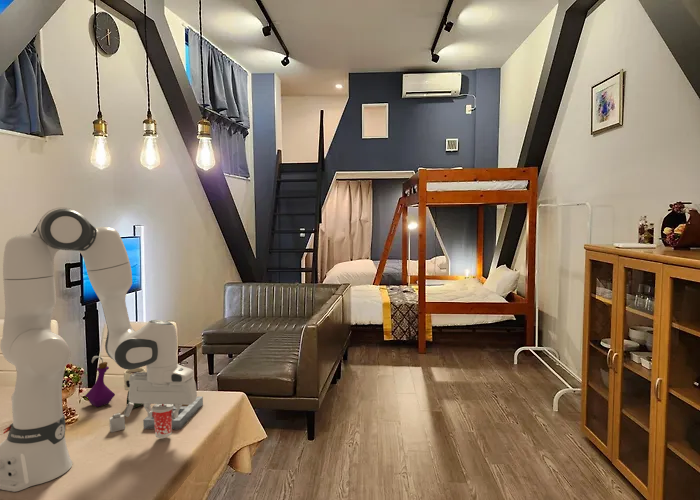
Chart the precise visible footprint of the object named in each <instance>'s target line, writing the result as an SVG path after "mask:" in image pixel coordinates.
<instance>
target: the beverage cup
mask: <svg viewBox="0 0 700 500" xmlns="http://www.w3.org/2000/svg"><path fill="white" fill-rule="evenodd" d="M173 406H174V404H154V405H153V406H151V408H152V411H153V414H154V425H155V429H154V433H155V434H154V435H155V438H157V439H164V438H168V437H170V436H171V435H172V430H173V429H172V419H173V418H171V416H172V415H171V413H172V410H173Z"/></svg>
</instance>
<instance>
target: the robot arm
mask: <svg viewBox="0 0 700 500" xmlns="http://www.w3.org/2000/svg"><path fill="white" fill-rule="evenodd" d="M60 250H62V251H76V252H77V251H78V252H79V253H80V254H81V256H82V258H83V261H84V265H85V269H86V272H87V276H88V280H89V282H90V284H91V286H92V289H93V291H94V292H95V294H96V296H97V298H98V299H99V302H100V304H101V307H102V310H103V315H104V319H105V324H106V328H107V332H106V333H107V334H106V339H105V345H104V349H105V352H106V354H107V356H108V357H109V358H110V359H112V360H113V362H115V363H116V364H117V366H118V367H120V368H122V369H124V370H132V369H136V368H144V367H145V366H146V371H145V372H134V373H133V374H131V375H130V377H129V384H130V387H129V397H128V399H129V401H130V402H131V403H144V404H143V408H144V410H145V411H146V412H147V416H148V417H154V414H153V411H152V406H151V405H152V404H154V405H156V404H175V408H176V407H177V408H176V410H175V411H173V412H172V413H171V415H172V416H171V418H172V419H175V418H177V417H178V411H179V409H180V408H181V406H188V405H191V404H192V403H193V402H194V401H195V400H196V398H197V396H198V392H197V383H196V381H195V378H194V377H193V375H194V372H195V371H194V369H192V368H190V367H186V366H184V365H181V364H179V363H178V357H177V351H178V336H177V329H176V327H175V325H174V324H173V322H171V321H168V320H163V319H153V320H149V321H148V322H147V323H146V324H145V325H144V326H142V327H141V328H139V329H137V330H135V329H134V328H133V327H132V325H131V321H130V318H129V312H128V307H127V304H126V296H127V293H128V292H129V290H130V289H131V287H132V285H133V275H132V274H133V271H132V267H131V261H130V258H129V255H128V251H127V249H126V246H125V244H124V241H123V239H122V236H120V233H119V231H118V230H116V229H115V228H113V227H110V226H98V227H95V226H94V225H93V224H92V223H91V222H90V221H89V220H88V218H86V217H85V216H84V215H83V214H82V213H80V212H78V211H76V209H72V208H69V207H56V208H52V209H51V210H48V211H47V212H46V213H44V214H43V216H41V218H40V220H39V222H38V223H37V225H36V227H35V228H34V230H33V231H32V232H31V233H25V234H24V233H22V234H19V235H15V236H13V237H11V238H10V239H8V240H7V242H6V243H5V247H4V252H3V260H2V261H3V262H2V280H3V293H4V295H3V296H4V307H5V308H4V319H3V325H2V326H3V327H2V338H1V340H0V351H1V353H2V356H3V358H4V359H5V360H6V361H7V362H8V363H10V364H12V365H13V366H14V367H15V370H16V380H15V386H14V391H13V392H12V395H11V409H12V410H11V412H12V423H11V424H9V426H8V427H5V428H4V429H3V431H4V432H3V433H2V434H6V433H7V432H8V434H7V437H6V439H4V440H3V441H1V442H0V490H3V491H8V492H19V491H23V490H25V489H28V488H29V487H33V486H36V485H41V484H44V483H47V482H50V481H52V480H55V479H56V478H59V477H61V476H63V475H64V474H65V473H67V472H68V471H69V470H70V469H71V468H72V466H73V461H72V458H71V456H70V453H69V450H68V446H67V441H66V417H65V414H64V413H63V396H62V395H63V393H62V390H63V380H64V375H65V369H66V367H67V365H68V363H69V361H70V358H71V348H70V346H69V344H68V343H67V341H66V340H65V339H64V338H63V337H62V336H61V335H59V334H57V333H54V332H52V329H51V328H52V327H51V324H52V317H53V312H54V310H55V308H56V305H57V292H56V281H55V280H56V278H55V264H54V262H55V256H56V254H57V253H58V252H59V251H60Z"/></svg>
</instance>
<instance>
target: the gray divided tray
mask: <svg viewBox="0 0 700 500" xmlns="http://www.w3.org/2000/svg"><path fill="white" fill-rule="evenodd" d="M203 405H204V397H203V396H199V395H197V398H196V400H195V401H194V402H193V403H192V404H191V405H182V406H181V408H180V409H179V411H178V417H177V418H172V430H181V429H182V428H183V427H184V426H185V425H186V424H187V423H188V422H189V421H190V419H191V418H192V417H193V416H194V415H195V414H196V413H197V412H198V410H200V409H201V407H203ZM176 408H177V407H176ZM176 408H175V404H174V406H173V410H172V412H173V411H175V410H176ZM142 423H143V425H142V426H143V429H144V430H155V425H154V417H148V415H147V416H146V417H145V418H144V419H143V420H142Z"/></svg>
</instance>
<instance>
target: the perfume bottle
mask: <svg viewBox="0 0 700 500" xmlns="http://www.w3.org/2000/svg"><path fill="white" fill-rule="evenodd" d="M96 359H100V360H101V362H100V363H99V364H98V367H97V368H96V371H97V372H98V375H97V376H98V377H97V379H96V381H95V382H94V385H93V386H92V387H91V388H90V390H89V391H88V392H87V393H86V394H85V395H84V397H85V396H86V397H88V399H89V401H88V402H89V403H90V404H91V405H92V406H94V407H96V408H100V407H102V406H105V405H106V406H107V405H108V404H110V403H111V401H112V400H113V398H114V397H115V395H116V394H115V392H113V391H112V390H111V389H110V388H109V387H108V386H107V385H106V384H105V382H104V378H105V375H106V372H107V371H108V370H109V369H110V368H109V366H108V362H107V361H103V358H102V357H101V356H99V355H94V356H93V357H92V359H91V363H92V364H93V363H94V361H95V360H96Z"/></svg>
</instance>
